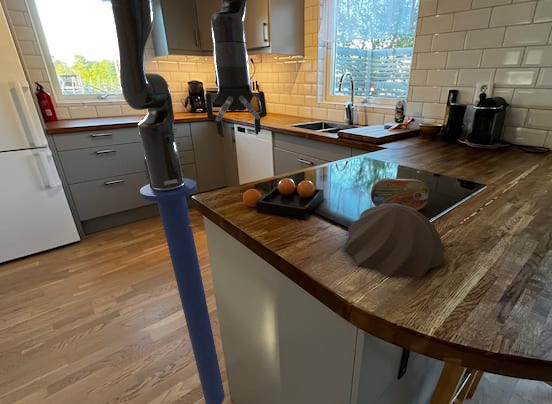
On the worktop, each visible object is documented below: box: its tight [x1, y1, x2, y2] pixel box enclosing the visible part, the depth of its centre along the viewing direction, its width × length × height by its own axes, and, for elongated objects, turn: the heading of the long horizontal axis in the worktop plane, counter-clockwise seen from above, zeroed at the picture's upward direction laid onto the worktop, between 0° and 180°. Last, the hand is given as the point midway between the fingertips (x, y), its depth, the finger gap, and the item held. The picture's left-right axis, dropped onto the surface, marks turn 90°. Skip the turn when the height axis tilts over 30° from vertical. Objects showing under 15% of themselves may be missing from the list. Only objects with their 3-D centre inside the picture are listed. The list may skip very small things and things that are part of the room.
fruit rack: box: [255, 177, 324, 221], centre depth 82 cm, size 14×14×6 cm
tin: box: [370, 177, 431, 212], centre depth 79 cm, size 15×3×8 cm, turn 82°
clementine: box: [242, 188, 262, 208], centre depth 82 cm, size 5×5×5 cm
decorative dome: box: [344, 203, 444, 278], centre depth 60 cm, size 19×20×10 cm
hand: (239, 135), depth 76 cm, fingers open, 8 cm apart
